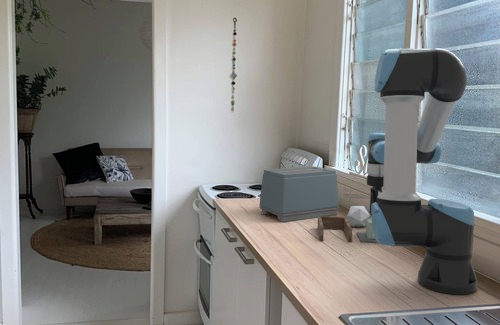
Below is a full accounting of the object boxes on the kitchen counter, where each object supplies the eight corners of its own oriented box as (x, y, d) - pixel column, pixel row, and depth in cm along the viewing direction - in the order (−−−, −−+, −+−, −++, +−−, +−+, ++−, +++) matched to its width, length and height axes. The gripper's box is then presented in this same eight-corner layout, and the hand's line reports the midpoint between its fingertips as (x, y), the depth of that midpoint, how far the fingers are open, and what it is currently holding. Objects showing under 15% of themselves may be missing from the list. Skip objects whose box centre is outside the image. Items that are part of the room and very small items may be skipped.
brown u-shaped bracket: (351, 242, 169) (352, 228, 168) (320, 241, 170) (320, 227, 169) (346, 229, 187) (346, 216, 186) (317, 228, 188) (317, 216, 187)
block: (384, 239, 171) (385, 223, 170) (368, 238, 172) (368, 222, 171) (381, 234, 177) (382, 219, 176) (365, 234, 177) (366, 218, 177)
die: (364, 231, 186) (376, 210, 188) (344, 219, 187) (356, 198, 189) (359, 233, 194) (370, 213, 197) (340, 222, 195) (351, 202, 198)
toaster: (345, 214, 213) (347, 170, 210) (282, 223, 196) (282, 175, 193) (319, 206, 229) (320, 165, 227) (258, 214, 212) (259, 169, 210)
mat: (394, 243, 168) (395, 241, 168) (361, 242, 169) (361, 240, 169) (388, 234, 180) (388, 232, 179) (356, 233, 181) (356, 231, 181)
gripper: (393, 179, 161) (390, 243, 164) (383, 171, 180) (380, 229, 183) (371, 178, 162) (368, 243, 165) (363, 170, 181) (361, 228, 184)
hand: (375, 235), depth 174 cm, fingers open, 6 cm apart
